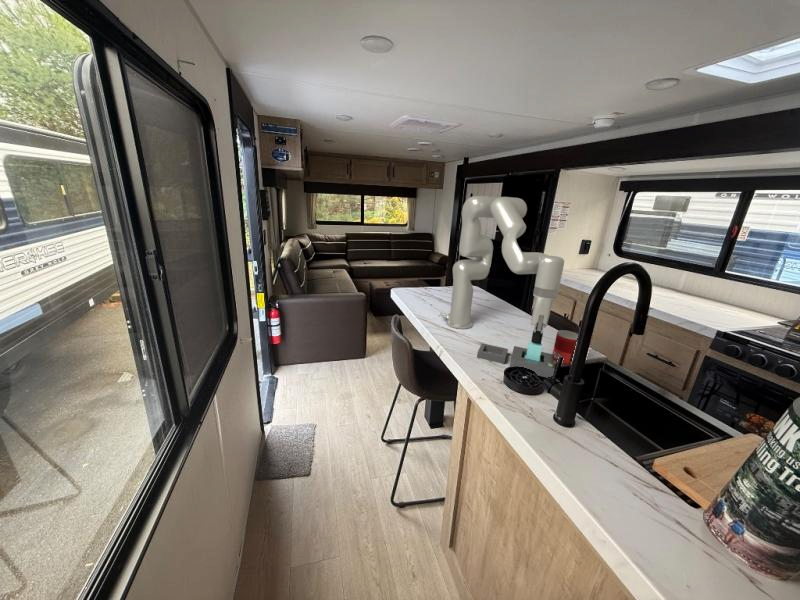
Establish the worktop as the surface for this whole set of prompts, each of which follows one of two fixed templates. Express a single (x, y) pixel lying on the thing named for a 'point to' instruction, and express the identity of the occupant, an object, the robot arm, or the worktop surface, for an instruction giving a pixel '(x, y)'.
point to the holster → (492, 353)
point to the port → (533, 362)
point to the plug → (534, 351)
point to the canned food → (565, 345)
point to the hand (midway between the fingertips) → (536, 342)
